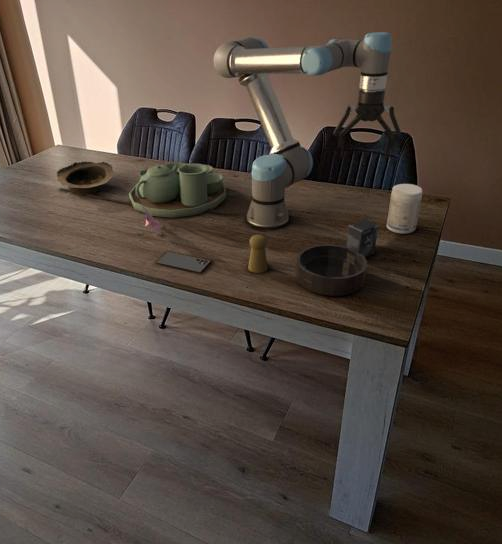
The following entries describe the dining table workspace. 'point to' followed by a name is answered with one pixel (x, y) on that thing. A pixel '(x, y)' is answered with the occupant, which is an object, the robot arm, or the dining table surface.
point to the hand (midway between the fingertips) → (363, 157)
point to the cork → (258, 254)
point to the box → (362, 237)
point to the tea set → (178, 190)
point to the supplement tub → (404, 208)
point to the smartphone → (184, 262)
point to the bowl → (331, 269)
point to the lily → (151, 221)
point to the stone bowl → (85, 176)
